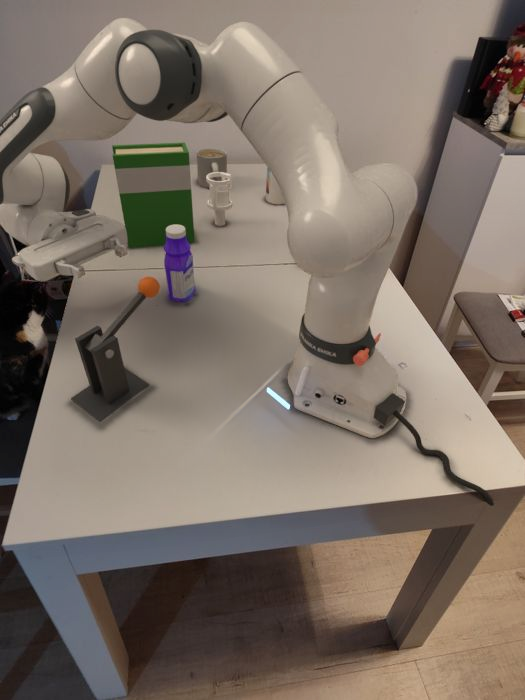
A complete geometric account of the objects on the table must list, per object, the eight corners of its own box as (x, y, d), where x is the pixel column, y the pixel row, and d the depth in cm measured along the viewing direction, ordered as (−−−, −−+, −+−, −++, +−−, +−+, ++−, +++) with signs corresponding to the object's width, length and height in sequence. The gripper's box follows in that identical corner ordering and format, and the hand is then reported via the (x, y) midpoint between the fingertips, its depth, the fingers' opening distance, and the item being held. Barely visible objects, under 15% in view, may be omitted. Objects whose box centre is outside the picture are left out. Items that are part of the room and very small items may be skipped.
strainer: (226, 230, 129) (226, 179, 119) (204, 226, 130) (201, 174, 120) (235, 220, 134) (235, 170, 124) (213, 216, 135) (212, 166, 125)
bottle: (188, 308, 101) (183, 238, 89) (165, 304, 101) (156, 234, 90) (198, 290, 106) (194, 222, 94) (176, 286, 107) (169, 218, 95)
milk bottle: (293, 199, 147) (299, 135, 134) (281, 207, 142) (286, 141, 129) (273, 193, 150) (277, 129, 136) (261, 201, 145) (263, 135, 131)
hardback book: (128, 248, 119) (112, 155, 103) (127, 235, 124) (112, 145, 108) (194, 242, 123) (188, 152, 107) (191, 230, 128) (184, 142, 112)
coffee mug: (199, 176, 158) (197, 147, 151) (227, 177, 158) (226, 148, 152) (196, 192, 148) (194, 161, 141) (226, 193, 148) (226, 162, 142)
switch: (152, 281, 79) (143, 269, 75) (167, 289, 77) (158, 277, 74) (91, 353, 74) (79, 343, 71) (105, 362, 73) (93, 353, 70)
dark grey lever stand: (121, 369, 85) (107, 312, 76) (150, 388, 82) (139, 331, 73) (72, 403, 79) (50, 345, 69) (101, 425, 75) (82, 367, 66)
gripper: (0, 242, 78) (47, 270, 72) (97, 205, 91) (143, 227, 85) (12, 273, 83) (57, 302, 77) (103, 234, 95) (147, 256, 89)
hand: (103, 262), depth 81 cm, fingers open, 8 cm apart
